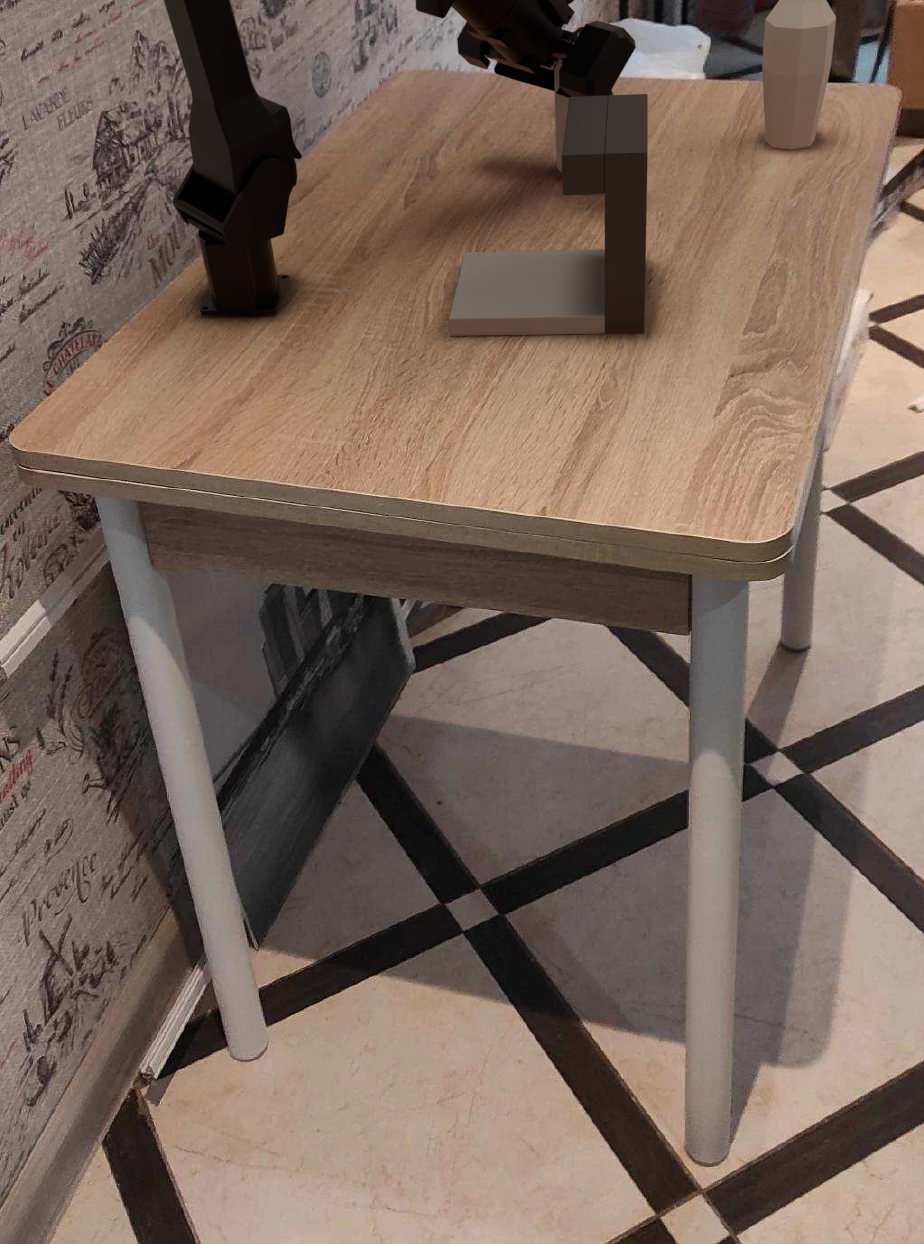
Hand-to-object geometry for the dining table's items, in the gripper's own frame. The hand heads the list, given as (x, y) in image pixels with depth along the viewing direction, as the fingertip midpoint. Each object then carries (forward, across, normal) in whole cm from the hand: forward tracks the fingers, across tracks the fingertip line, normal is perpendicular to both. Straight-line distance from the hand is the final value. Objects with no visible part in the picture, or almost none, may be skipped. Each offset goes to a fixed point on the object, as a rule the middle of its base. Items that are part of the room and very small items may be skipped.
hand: (592, 97), depth 124 cm
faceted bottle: (+17, -10, -7) cm, 21 cm away
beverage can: (+4, 0, +6) cm, 7 cm away
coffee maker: (-10, -18, +20) cm, 29 cm away
